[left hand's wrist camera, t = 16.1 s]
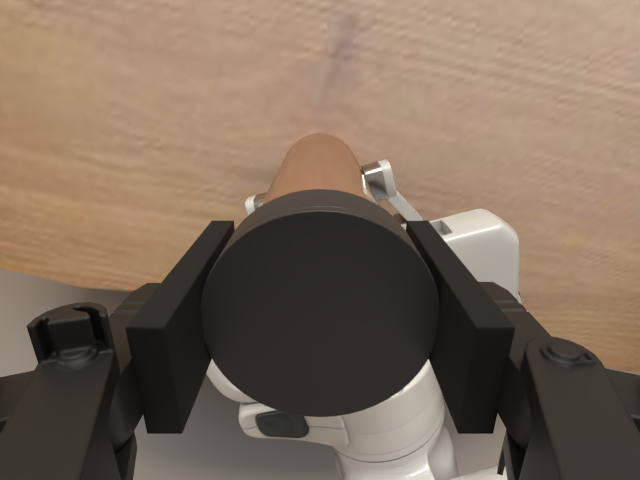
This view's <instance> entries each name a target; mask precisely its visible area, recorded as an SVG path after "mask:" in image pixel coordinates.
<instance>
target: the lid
mask: <svg viewBox="0 0 640 480" xmlns="http://www.w3.org/2000/svg"><path fill="white" fill-rule="evenodd" d="M200 309H201V318H202V326H203V333H204V340H205V344H206V347H207V349H208V352H209V354H210V356H211V357H212V359H213V361H214V363H215V364H216V366H217V367H218V369H219V370H220V371H221V373H222V374H223V375H224V376H225V377H226V378H227V379H228V380H229V381H230V382H231V383H232V384H233V385H234V386H235V387H236V388H237V389H239V390H240V391H241V392H242V393H244V394H245V395H247V396H248V397H250V398H252V399H253V400H255V401H257V402H259V403H261V404H263V405H265V406H267V407H270V408H273V409H275V410H278V411H281V412H285V413H289V414H293V415H300V416H307V417H332V416H340V415H347V414H351V413H355V412H359V411H363V410H365V409H368V408H370V407H373V406H376V405H378V404H380V403H381V402H383V401H385V400H387V399H389V398H390V397H392V396H393V395H395V394H396V393H398V392H399V391H401V390H402V389H403V388H404V387H405V386H407V385H408V384H409V383H410V382H411V381H412V380H413V379H414V378H415V377H416V375H417V374H418V373H419V372H420V371H421V369H422V368H423V366H424V365H425V363H426V362H427V360H428V358H429V356H430V354H431V353H432V351H433V348H434V345H435V342H436V337H437V329H438V321H439V313H440V301H439V295H438V291H437V287H436V284H435V281H434V279H433V277H432V274H431V272H430V270H429V268H428V266H427V265H426V263H425V262H424V260H423V258H422V257H421V255H420V253H419V252H418V250H417V248H416V247H415V245H414V243H413V242H412V240H411V238H410V237H409V235H408V234H407V232H406V231H405V229H404V228H403V227H402V226H401V224H400V223H399V222H398V221H397V220H396V219H395V218H394V217H393V216H392V215H391V214H389V213H388V212H387V211H386V210H384V209H383V208H381V207H380V206H378V205H377V204H375V203H374V202H371V201H369V200H367V199H365V198H363V197H361V196H358V195H355V194H351V193H348V192H343V191H338V190H330V189H311V190H302V191H297V192H292V193H289V194H286V195H283V196H280V197H277V198H275V199H273V200H271V201H269V202H267V203H265V204H263V205H262V206H261V207H259V208H258V209H256V210H255V211H253V212H252V213H251V214H250V215H249V216H248V217H247V218H245V219H244V220H243V221H242V223H241V224H240V225H239V226H238V227H237V229H236V230H235V231H234V233H233V234H232V236H231V238H230V239H229V241H228V243H227V244H226V246H225V247H224V249H223V251H222V252H221V254H220V256H219V257H218V259H217V261H216V262H215V264H214V266H213V267H212V269H211V271H210V273H209V275H208V278H207V280H206V282H205V285H204V289H203V293H202V297H201V305H200Z"/></svg>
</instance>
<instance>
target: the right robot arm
mask: <svg viewBox="0 0 640 480" xmlns="http://www.w3.org/2000/svg"><path fill="white" fill-rule="evenodd" d="M361 168H362V172H363V174H364V176H365V178H366V180H367V182H368V184H369V186H370V188H371V190H372V192H373V194H374V195H375V197H376V199H377V200H380V199H385V198H386V200H387V201H388V202H389V203H390V204H391V205H392V206H393V207H394V208H395V209H396V210H397V211H398V212H399V213H398V214H394V216H393V217H394V218H395V219H396V220H397V221H398V222H399V223H400V224H401V226H402V227H403V228H404V229H405V231H406V223H407V221H423V219H422V218H421V216H420V215H419V214H418V212H417V211H416V210H415V209H414V208H413V207H412V206H411V204H410V203H409V202H408V201H407V200H406V199H405V198H404V197H403V196H402V195H401V194H400V193H399V192H398V191H397V190H396V187H395V183H394V178H393V173H392V169H391V166H390V163H389V162H388V161H387V160H386V159H385V160H381V161H378V162H374V163H371V164H367V165H364V166H361ZM266 194H267V193H263V194H259V195H254V196H251V197H248V198H247V200H246V202H245V207H246V212H247V214H248V216H249V215H250V214H251V213H252V212H253V211H255V210H256V209H258V208H259V207H260V206H261V204H262V202H263V200H264V198H265V196H266ZM429 222H430V224H431V225H432V226H433V227H434V228H435V230H436V231H437V232H438V233H439V235H440V236H441V237H442V238H443V239H444V241H445V242H446V243H447V244H448V246H449V247H450V248H451V249H452V250H453V252H454V253H455V254H456V255H457V257H458V258H459V259H460V260H461V261H462V263H463V264H464V265H465V266H466V268H467V269H468V270H469V271H470V272H471V274H472V275H473V276H474V277H475V279H476V280H477V281H478V282H494V283H496V284H498V285H499V286H501V287H503V288H505V289H507V290H508V291H509V292H510V293H511V294H512V295H513V296H514V297H515V298H516V299H517V300H518V303H521V305H522V301H521V297H520V294H519V292H518V289H519V273H520V254H519V240H518V236H517V234H516V232H515V231H514V229H513V228H512V227H511V226H510V225H508V224H507V223H506V222H505V221H504V220H502V219H501V218H499V217H498V216H496V215H494V214H493V213H491V212H489V211H487V210H485V209H475V210H471V211H467V212H463V213H459V214H455V215H452V216H448V217H444V218H440V219H436V220H432V221H429ZM206 374H207V376H208V377H209V379H210V380H211V382H212V383H213V384H214V386H215V387H216V388H217V389H218V390H219V391H220V392H221V393H222V394H223V395H225V396H226V397H228V398H230V399H232V400H234V401H237V402H240V407H239V423H240V426H241V428H242V430H243V431H244V433H245V434H247V435H248V436H251V437H255V438H273V439H291V440H301V441H309V442H315V443H320V444H325V445H329V446H331V447H332V448H333V450H334V451H335V462H336V468H337V472H338V476H339V479H340V480H507V473H506V466H505V467H504V472H503V475H499V474H497V470H498V465H496V466H493V467H489V468H486V469H483V470H479V471H476V472H473V473H470V474H466V475H463V476H460V477H458V469H457V463H456V457H455V452H454V447H453V443H452V440H451V437H450V435H449V432H448V430H447V429H446V427H445V425H444V417H445V407H444V400H443V395H442V391H441V389H440V386H439V384H438V381H437V379H436V376H435V374H434V371H433V369H432V366H431V364H430V361H429V359H428V360H427V362H426V363H425V365H424V366H423V368H422V369H421V371H420V372H419V373H418V374H417V375H416V377H415V378H414V379H413V380H412V381H411V382H410V383H409V384H408V385H407V386H405V387H404V388H403V389H402V390H401V391H399V392H398V393H396V394H395V395H393V396H392V397H390V398H389V399H387V400H385V401H383V402H381V403H380V404H378V405H376V406H373V407H370V408H368V409H365V410H363V411H359V412H355V413H351V414H347V415H340V416H332V417H307V416H300V415H293V414H289V413H285V412H281V411H278V410H275V409H273V408H270V407H267V406H265V405H263V404H261V403H259V402H257V401H255V400H253V399H252V398H250V397H248V396H247V395H245V394H244V393H242V392H241V391H240V390H239V389H237V388H236V387H235V386H234V385H233V384H232V383H231V382H230V381H229V380H228V379H227V378H226V377H225V376H224V375H223V374H222V373H221V371H220V370H219V369H218V367H217V366H216V364H215V363H214V361H213V359H212V360H211V362H210V365H209V367H208V370H207V372H206Z"/></svg>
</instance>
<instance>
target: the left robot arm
mask: <svg viewBox="0 0 640 480" xmlns="http://www.w3.org/2000/svg"><path fill="white" fill-rule="evenodd" d="M234 231H235V230H234V221H212V222H211V223H210V224H209V225H208V226H207V228H206V229H205V230H204V231H203V233H202V234H201V235H200V236H199V238H198V239H197V240H196V241H195V242H194V244H193V245H192V246H191V247H190V249H189V250H188V251H187V252H186V253H185V255H184V256H183V257H182V258H181V260H180V261H179V262H178V263H177V264H176V266H175V267H174V268H173V269H172V271H171V272H170V273H169V274H168V275H167V277H166V278H165V279H164V280H163V282H162V283H147V284H145V285H143V286H142V287H140V288H138V289H136V290H135V291H133V292H132V293H131V294H130V295H129V296H128V297H127V298H126V299H125V300H124V301H123V304H121V305H120V306H119V307H118V308H117V309H116V310H115V312H114V313H112V314H111V315H110V317H109V318H108V314H107V310H106V308H105V307H104V306H102V305H101V304H96V303H91V302H87V303H75V304H70V305H65V306H61V307H58V308H56V309H53V310H50V311H47V312H45V313H44V314H42V315H40V316H38V317H37V318H35V319H34V320H33V321H32V322H31V323H30V324H28V325H27V329H28V332H29V335H30V338H31V342H32V345H33V348H34V351H35V354H36V357H37V360H38V365H37V367H36V369H35V370H34V371H30V372H25V373H20V374H15V375H10V376H5V377H0V480H133V474H134V467H135V460H136V453H137V444H136V437H135V433H134V430H135V428H136V426H137V424H138V422H139V421H140V419H141V417H142V415H144V419H145V424H146V429H147V433H182V432H183V430H184V427H185V425H186V422H187V420H188V417H189V415H190V412H191V410H192V407H193V405H194V402H195V400H196V397H197V395H198V392H199V390H200V387H201V385H202V382H203V380H204V377H205V375H206V372H207V370H208V367H209V365H210V362H211V360H212V357H211V356H210V354H209V352H208V349H207V347H206V344H205V340H204V333H203V326H202V318H201V309H200V305H201V297H202V293H203V289H204V285H205V282H206V280H207V278H208V275H209V273H210V271H211V269H212V267H213V266H214V264H215V262H216V261H217V259H218V257H219V256H220V254H221V252H222V251H223V249H224V247H225V246H226V244H227V243H228V241H229V239H230V238H231V236H232V234H233V233H234ZM406 232H407V234H408V235H409V237H410V238H411V240H412V242H413V243H414V245H415V247H416V248H417V250H418V252H419V253H420V255H421V257H422V258H423V260H424V262H425V263H426V265H427V266H428V268H429V270H430V272H431V274H432V277H433V279H434V281H435V284H436V287H437V291H438V295H439V301H440V313H439V321H438V329H437V337H436V342H435V345H434V348H433V351H432V353H431V354H430V356H429V358H428V359H429V361H430V364H431V366H432V369H433V371H434V374H435V376H436V379H437V381H438V384H439V386H440V389H441V391H442V394H443V396H444V399H445V401H446V404H447V406H448V409H449V411H450V414H451V416H452V419H453V421H454V424H455V426H456V429H457V431H458V433H493V431H494V426H495V421H496V417H497V412H498V414H499V416H500V418H501V420H502V421H503V423H504V425H505V427H506V433H505V437H504V442H503V446H502V451H501V455H500V459H499V464H498V470H497V474H499V475H503V472H504V467H505V466H506V473H507V480H640V375H635V374H630V373H624V372H619V371H614V370H609V369H606V368H604V366H603V364H602V362H601V361H600V360H599V359H598V358H597V357H596V355H595V354H593V353H592V352H590V351H589V350H587V349H586V348H584V347H583V346H581V345H578V344H576V343H574V342H571V341H569V340H565V339H561V338H557V337H551V336H550V335H549V333H548V332H547V331H546V330H545V329H544V328H543V327H542V326H541V325H540V324H539V323H538V322H537V321H536V320H535V318H534V317H533V316H532V315H531V314H530V313H529V312H526V309H525V308H524V307H523V306H522V305H521V303H518V300H517V299H516V298H515V297H514V296H513V295H512V294H511V293H510V292H509V291H508V290H507V289H505V288H503V287H501V286H499V285H498V284H496V283H494V282H478V281H477V280H476V279H475V277H474V276H473V275H472V274H471V272H470V271H469V270H468V269H467V268H466V266H465V265H464V264H463V263H462V261H461V260H460V259H459V258H458V257H457V255H456V254H455V253H454V252H453V250H452V249H451V248H450V247H449V246H448V244H447V243H446V242H445V241H444V239H443V238H442V237H441V236H440V235H439V233H438V232H437V231H436V230H435V228H434V227H433V226H432V225H431V224H430V222H429V221H407V223H406Z"/></svg>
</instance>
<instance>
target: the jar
mask: <svg viewBox="0 0 640 480" xmlns="http://www.w3.org/2000/svg"><path fill="white" fill-rule="evenodd" d="M311 189H330V190H338V191H343V192H348V193H351V194H355V195H358V196H361V197H363V198H365V199H367V200H369V201H371V202H374V203H375V204H377V205H378V206H380V205H379V203H378V201H377V199H376V197H375V195H374V194H373V192H372V190H371V188H370V186H369V184H368V182H367V180H366V178H365V176H364V174H363V172H362V170H361V168H360V166H359V164H358V162H357V160H356V158H355V156H354V154H353V153H352V151H351V150H350V148H349V147H348V146H347V145H346V144H345V143H344V142H343V141H341V140H340V139H338V138H336V137H334V136H331V135H328V134H313V135H309V136H306V137H304V138H302V139H300V140H299V141H297V142H296V143H295V144H294V145H293V146H292V147H291V148H290V150H289V151H288V153H287V155H286V157H285V159H284V161H283V163H282V165H281V167H280V169H279V171H278V173H277V175H276V177H275V178H274V180H273V182H272V184H271V186H270V188H269V190H268V192H267V194H266V196H265V198H264V200H263V202H262V204H261V206H262V205H263V204H265V203H267V202H269V201H271V200H273V199H275V198H277V197H280V196H283V195H286V194H289V193H292V192H297V191H302V190H311ZM261 206H260V207H261Z"/></svg>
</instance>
